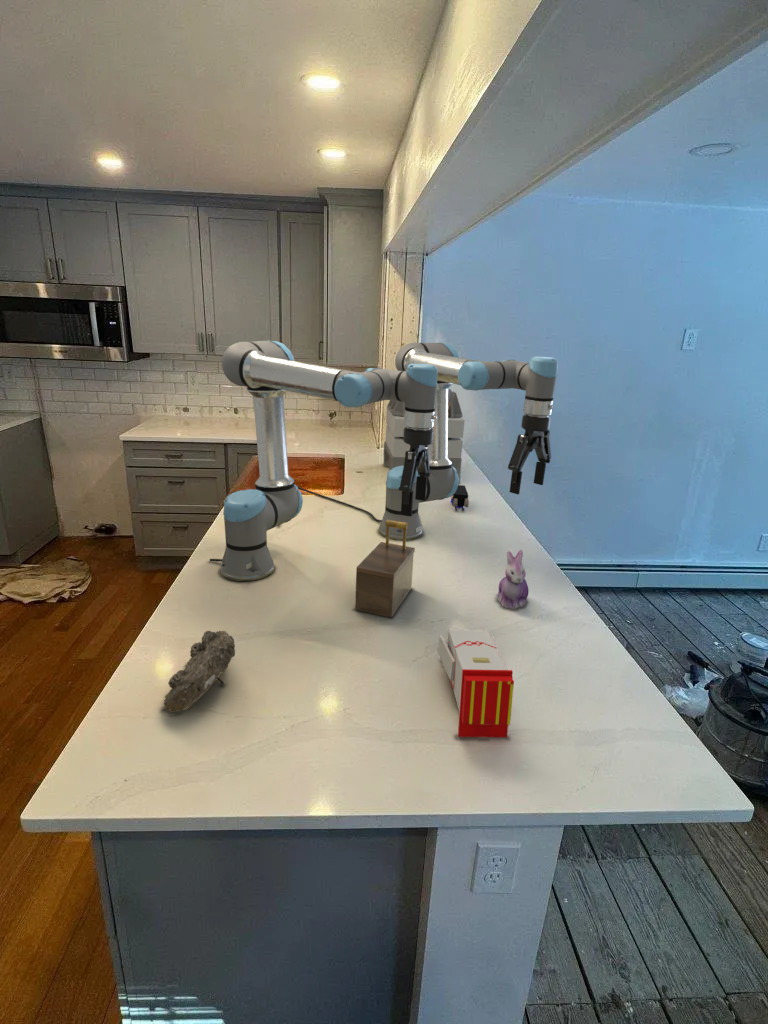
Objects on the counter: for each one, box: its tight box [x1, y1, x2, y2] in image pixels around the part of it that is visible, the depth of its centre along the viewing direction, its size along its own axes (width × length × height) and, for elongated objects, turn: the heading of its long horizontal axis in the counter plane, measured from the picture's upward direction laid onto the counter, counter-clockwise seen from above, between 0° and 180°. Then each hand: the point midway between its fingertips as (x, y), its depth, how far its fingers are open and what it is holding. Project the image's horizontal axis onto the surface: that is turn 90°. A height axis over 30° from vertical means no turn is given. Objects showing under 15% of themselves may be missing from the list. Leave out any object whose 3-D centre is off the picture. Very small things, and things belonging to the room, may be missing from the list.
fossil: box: [163, 630, 236, 713], centre depth 116 cm, size 22×10×15 cm
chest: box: [354, 552, 415, 618], centre depth 153 cm, size 18×10×11 cm, turn 161°
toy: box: [437, 628, 515, 738], centre depth 117 cm, size 12×13×30 cm
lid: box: [355, 520, 416, 579], centre depth 150 cm, size 18×10×9 cm, turn 161°
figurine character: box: [449, 484, 470, 512], centre depth 229 cm, size 7×8×15 cm
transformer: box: [383, 388, 465, 484], centre depth 268 cm, size 34×33×41 cm
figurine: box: [497, 549, 530, 610], centre depth 154 cm, size 9×10×15 cm
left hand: (413, 507), depth 150 cm, fingers open, 13 cm apart
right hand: (526, 488), depth 163 cm, fingers open, 13 cm apart
